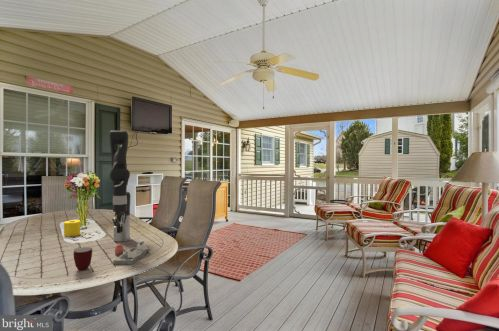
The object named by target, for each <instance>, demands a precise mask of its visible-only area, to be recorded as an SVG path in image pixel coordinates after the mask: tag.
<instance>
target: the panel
mask: <svg viewBox="0 0 499 331" xmlns="http://www.w3.org/2000/svg"><path fill="white" fill-rule="evenodd" d="M132 248H135V250H137V246H136V247H135V246H133V247H131V248H129V249H127V250H125V252H124V251H123V254H122V255H120V256H117V257H116V258H115V259H113V265H131V266H132V265H133V264H135V263H136V262H137V261H138V260H139V259H141V258H142V257H143V256H144V255H145V254H146V253H147V251H148V252H149V247H146V249H145V250H144V251H141V250H138V256H137V257H136V258H128V251H129V250H131V249H132Z"/></svg>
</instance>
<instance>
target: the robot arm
mask: <svg viewBox="0 0 499 331" xmlns="http://www.w3.org/2000/svg"><path fill="white" fill-rule="evenodd" d="M108 134H109V138H108V140H109V148H110V156H111V160H110V161H111V169H110V173H109V179H110V180H111V181H112V212H113V213H114V217H112V219H111V220H112V223H113V224H114V225H113V226H114V227H113V241H114V242H118V243H121V242H128V241H130V239H131V236H130V234H131V221H130V220H131V217H130V216H131V193H130V191H127V187H128V182H129V179H130V176H131V172H130V171H129V169H128V166H127V165H128V164H127V152H128V147H129V134H128V131H126V130H110V131H109V133H108ZM116 146H120V148H118V149H117V147H116Z"/></svg>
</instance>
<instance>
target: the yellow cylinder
mask: <svg viewBox="0 0 499 331" xmlns="http://www.w3.org/2000/svg"><path fill="white" fill-rule="evenodd" d="M78 235H81V220H79V219H75V220H74V219H72V220H66V221H64V222H63V236H64V237H76V236H78Z"/></svg>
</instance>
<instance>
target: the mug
mask: <svg viewBox="0 0 499 331" xmlns="http://www.w3.org/2000/svg"><path fill="white" fill-rule="evenodd" d="M92 257H93V248H92V247H91V246H90V247H89V246H88V247H86V246H85V247H84V246H83V247H79V248H76V249H74V250H73V260H74V265H75V267H76V269H77V270H78V271H80V272H84V271H86V270H88V269H89V268H90V265H91V262H92Z"/></svg>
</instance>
